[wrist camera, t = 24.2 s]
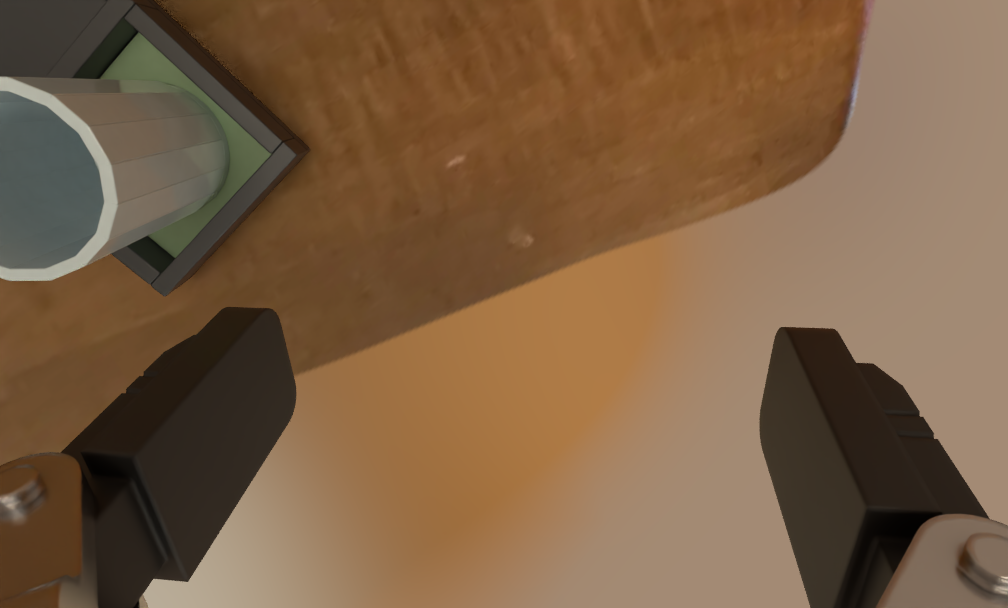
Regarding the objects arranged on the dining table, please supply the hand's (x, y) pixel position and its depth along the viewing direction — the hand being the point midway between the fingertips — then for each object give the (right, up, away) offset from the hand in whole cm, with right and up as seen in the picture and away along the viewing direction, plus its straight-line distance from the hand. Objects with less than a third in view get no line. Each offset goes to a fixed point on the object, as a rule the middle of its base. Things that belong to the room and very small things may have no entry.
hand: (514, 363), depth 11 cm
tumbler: (-16, +8, +19) cm, 26 cm away
